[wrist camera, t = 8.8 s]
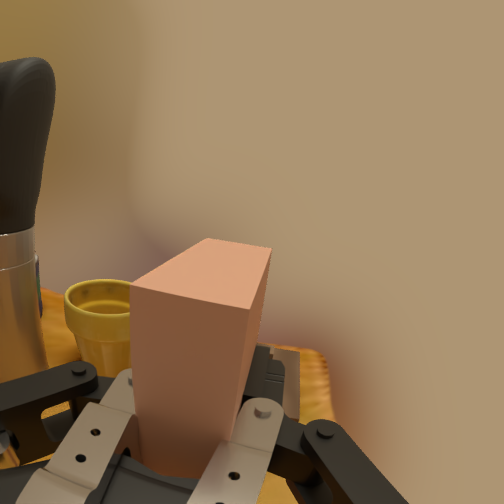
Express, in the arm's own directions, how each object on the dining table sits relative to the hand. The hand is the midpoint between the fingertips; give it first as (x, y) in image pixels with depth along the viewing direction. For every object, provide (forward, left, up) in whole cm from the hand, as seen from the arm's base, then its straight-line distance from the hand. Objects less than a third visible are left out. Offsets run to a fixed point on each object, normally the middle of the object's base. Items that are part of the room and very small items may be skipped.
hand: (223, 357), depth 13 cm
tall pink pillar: (0, -3, -7) cm, 8 cm away
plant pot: (-16, +16, -16) cm, 28 cm away
